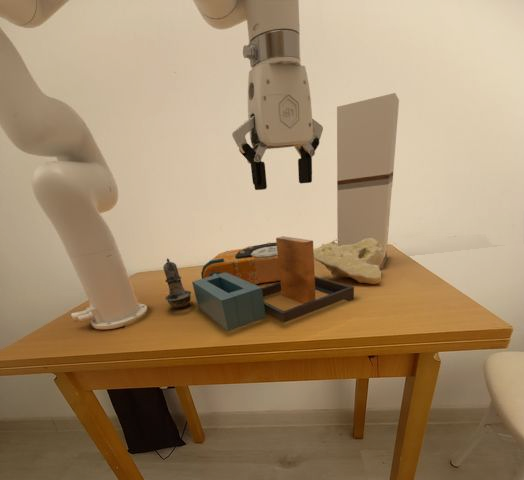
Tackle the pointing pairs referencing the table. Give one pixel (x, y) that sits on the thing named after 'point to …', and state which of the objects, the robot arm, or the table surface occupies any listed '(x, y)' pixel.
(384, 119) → the refrigerator
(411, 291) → the table surface
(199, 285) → the blue-grey slotted box
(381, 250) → the beige rock
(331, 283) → the dark rectangular frame
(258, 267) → the device
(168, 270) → the dark stone tower figurine
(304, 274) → the wooden plank block
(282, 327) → the table surface
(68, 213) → the robot arm
